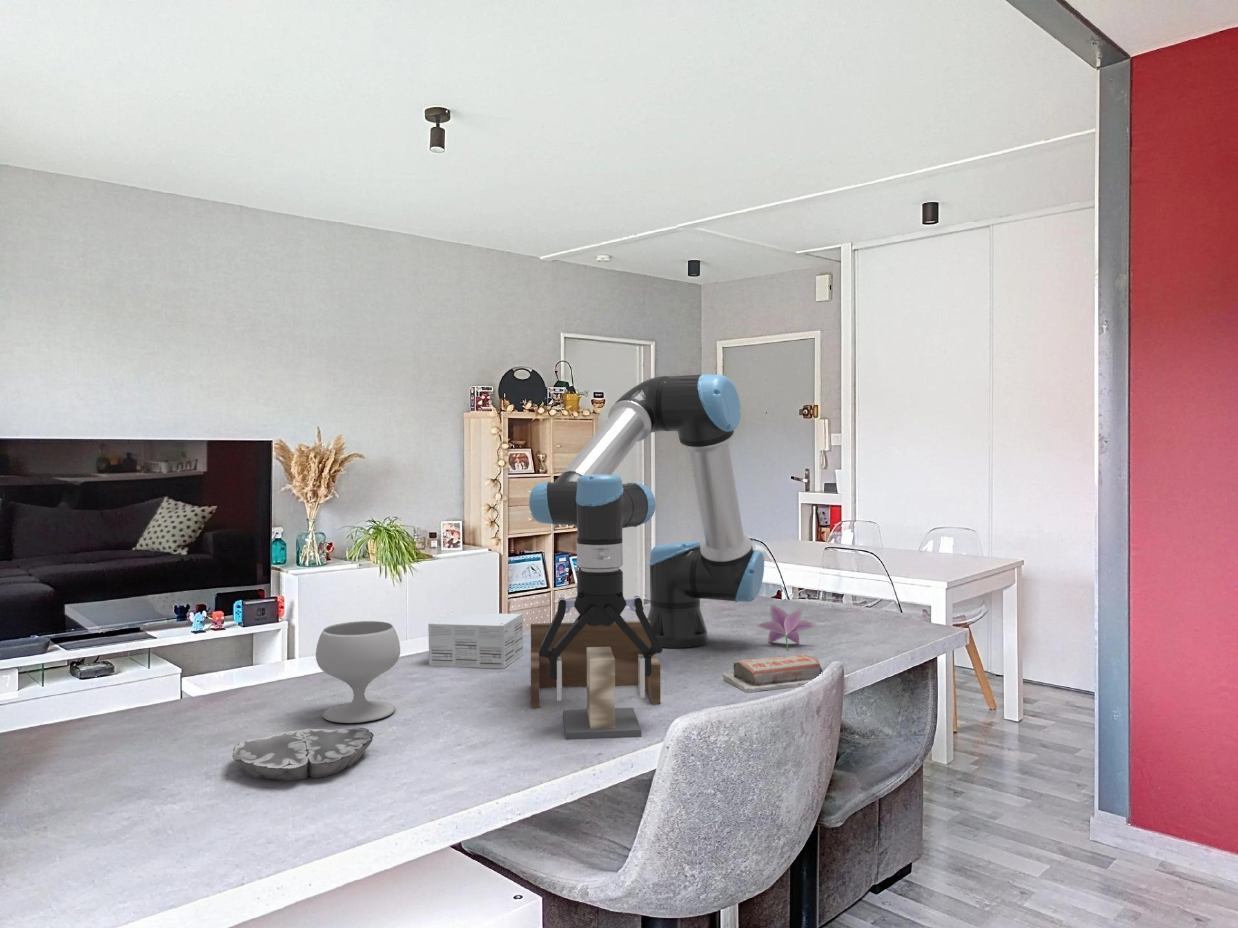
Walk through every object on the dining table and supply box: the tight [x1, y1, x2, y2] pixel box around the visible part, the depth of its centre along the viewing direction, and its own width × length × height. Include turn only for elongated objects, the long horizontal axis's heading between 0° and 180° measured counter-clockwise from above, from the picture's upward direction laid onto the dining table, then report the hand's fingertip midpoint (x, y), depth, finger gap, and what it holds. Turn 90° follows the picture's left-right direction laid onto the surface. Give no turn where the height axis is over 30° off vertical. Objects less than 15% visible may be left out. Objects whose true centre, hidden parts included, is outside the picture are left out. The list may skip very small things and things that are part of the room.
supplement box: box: [427, 611, 524, 670], centre depth 192 cm, size 17×13×9 cm
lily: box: [757, 604, 817, 652], centre depth 202 cm, size 12×12×10 cm
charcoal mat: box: [562, 707, 642, 740], centre depth 147 cm, size 12×12×1 cm
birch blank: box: [586, 647, 616, 729], centre depth 146 cm, size 4×9×11 cm, turn 5°
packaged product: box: [722, 654, 824, 694], centre depth 173 cm, size 18×5×10 cm
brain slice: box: [232, 727, 375, 782], centre depth 129 cm, size 20×17×3 cm
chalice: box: [315, 620, 401, 724], centre depth 153 cm, size 14×14×15 cm
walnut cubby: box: [530, 620, 662, 709], centre depth 165 cm, size 14×23×12 cm, turn 95°
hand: (600, 697), depth 146 cm, fingers open, 13 cm apart
